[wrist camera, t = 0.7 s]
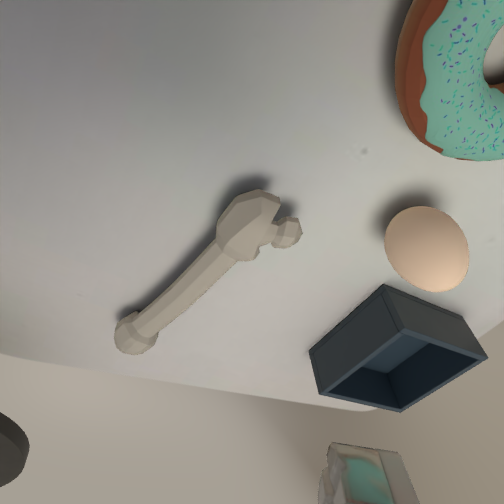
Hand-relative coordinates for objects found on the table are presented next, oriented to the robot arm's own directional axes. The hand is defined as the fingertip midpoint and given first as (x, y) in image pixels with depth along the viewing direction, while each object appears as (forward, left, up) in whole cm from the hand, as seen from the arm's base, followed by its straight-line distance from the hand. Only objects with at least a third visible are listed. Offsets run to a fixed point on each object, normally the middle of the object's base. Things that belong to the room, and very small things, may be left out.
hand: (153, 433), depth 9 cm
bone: (-8, -8, -17) cm, 21 cm away
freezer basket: (-2, -28, -17) cm, 33 cm away
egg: (+6, -16, -17) cm, 24 cm away
